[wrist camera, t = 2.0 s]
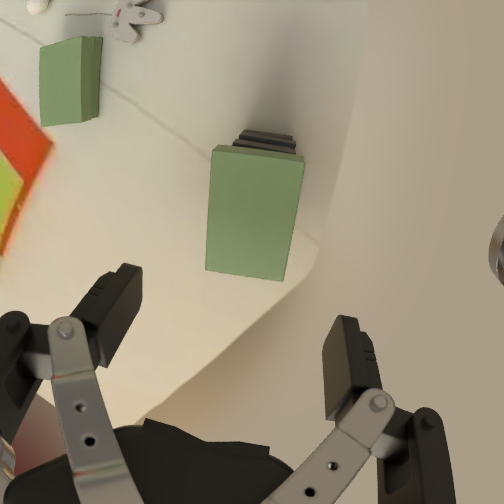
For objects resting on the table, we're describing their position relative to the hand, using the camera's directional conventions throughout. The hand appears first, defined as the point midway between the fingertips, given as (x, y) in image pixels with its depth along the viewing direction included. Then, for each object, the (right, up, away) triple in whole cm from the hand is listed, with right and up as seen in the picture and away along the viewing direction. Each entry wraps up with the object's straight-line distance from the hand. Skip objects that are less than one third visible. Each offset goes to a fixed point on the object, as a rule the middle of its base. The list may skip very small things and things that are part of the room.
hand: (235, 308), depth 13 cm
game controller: (-13, +26, +10) cm, 30 cm away
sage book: (+1, +5, +9) cm, 11 cm away
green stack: (-17, +20, +13) cm, 30 cm away
